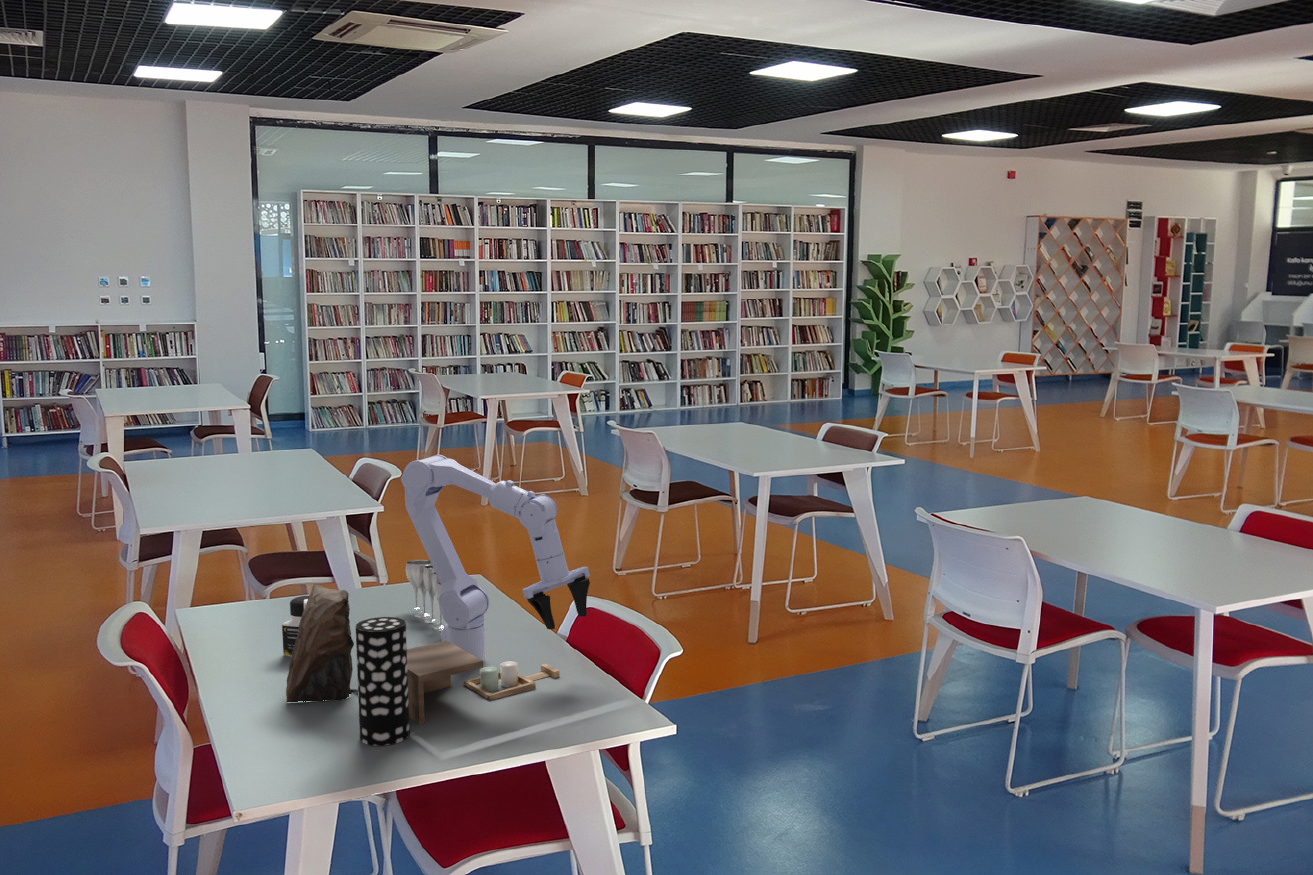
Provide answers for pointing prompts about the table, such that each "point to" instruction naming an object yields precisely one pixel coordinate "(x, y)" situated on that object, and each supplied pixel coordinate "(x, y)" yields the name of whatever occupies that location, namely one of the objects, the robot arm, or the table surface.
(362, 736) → the white-spotted black cylinder
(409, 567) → the goblet set
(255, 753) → the table surface
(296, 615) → the medicine bottle
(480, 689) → the oak tray
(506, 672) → the off-white round cylinder
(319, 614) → the brown rock
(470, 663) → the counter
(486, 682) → the grey-green round cylinder
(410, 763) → the table surface
